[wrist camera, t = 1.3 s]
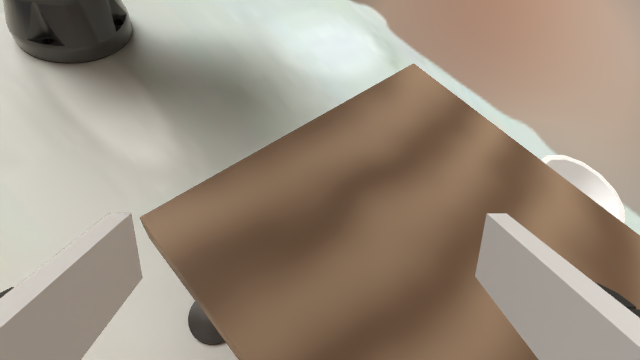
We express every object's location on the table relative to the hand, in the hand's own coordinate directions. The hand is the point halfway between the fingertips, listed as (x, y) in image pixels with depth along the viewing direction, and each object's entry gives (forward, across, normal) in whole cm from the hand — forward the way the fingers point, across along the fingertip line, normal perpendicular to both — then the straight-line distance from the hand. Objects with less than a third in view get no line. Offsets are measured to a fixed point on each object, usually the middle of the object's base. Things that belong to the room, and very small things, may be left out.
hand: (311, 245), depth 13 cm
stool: (+18, +5, -20) cm, 27 cm away
